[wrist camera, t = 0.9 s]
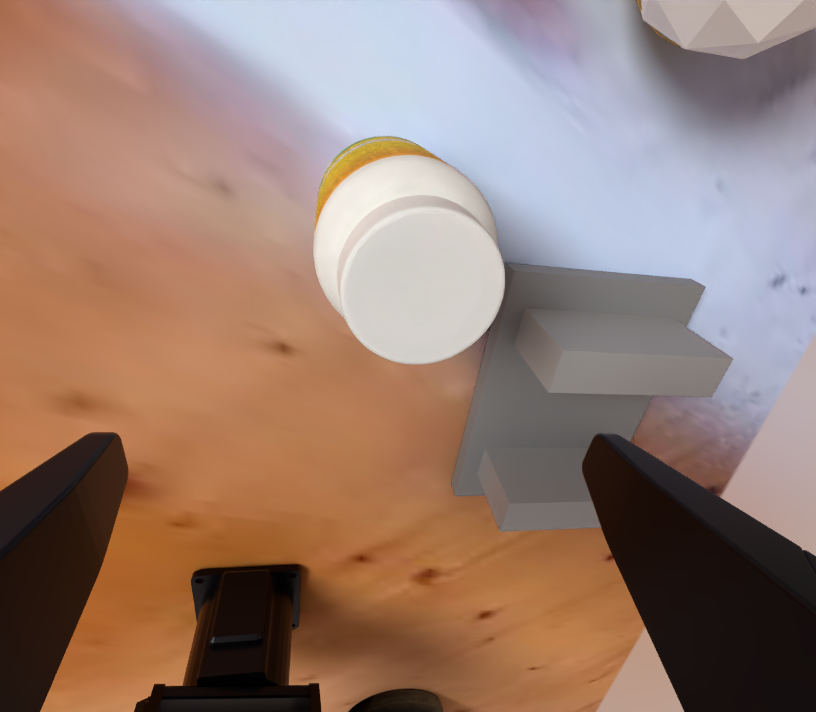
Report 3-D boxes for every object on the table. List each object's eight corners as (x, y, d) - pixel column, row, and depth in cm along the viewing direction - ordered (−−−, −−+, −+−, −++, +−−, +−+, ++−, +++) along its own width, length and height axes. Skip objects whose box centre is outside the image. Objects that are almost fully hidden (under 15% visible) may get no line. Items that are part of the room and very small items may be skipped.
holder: (597, 481, 30) (642, 546, 26) (450, 483, 28) (473, 555, 24) (691, 279, 23) (774, 323, 19) (506, 262, 21) (552, 308, 17)
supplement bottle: (472, 197, 19) (579, 280, 11) (388, 289, 21) (430, 421, 13) (375, 99, 17) (423, 113, 9) (289, 211, 19) (261, 312, 10)
